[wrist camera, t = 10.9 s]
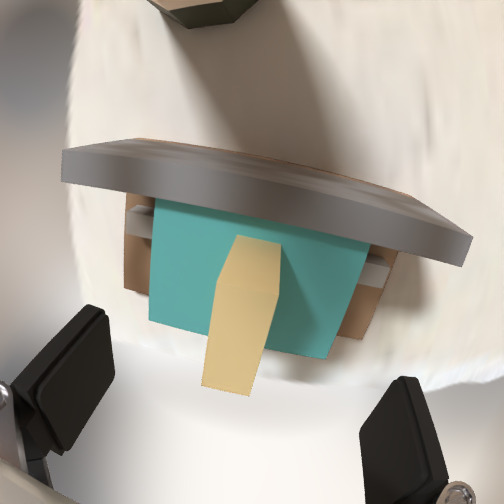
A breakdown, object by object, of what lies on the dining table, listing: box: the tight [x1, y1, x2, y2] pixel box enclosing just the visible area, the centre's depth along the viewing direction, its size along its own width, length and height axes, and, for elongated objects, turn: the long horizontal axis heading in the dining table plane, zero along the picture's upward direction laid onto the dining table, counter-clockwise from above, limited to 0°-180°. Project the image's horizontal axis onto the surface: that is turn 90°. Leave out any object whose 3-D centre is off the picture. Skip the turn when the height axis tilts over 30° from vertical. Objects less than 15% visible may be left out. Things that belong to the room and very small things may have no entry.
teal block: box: [149, 198, 371, 396], centre depth 16 cm, size 10×7×12 cm
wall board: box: [61, 138, 473, 339], centre depth 19 cm, size 20×12×9 cm, turn 79°
